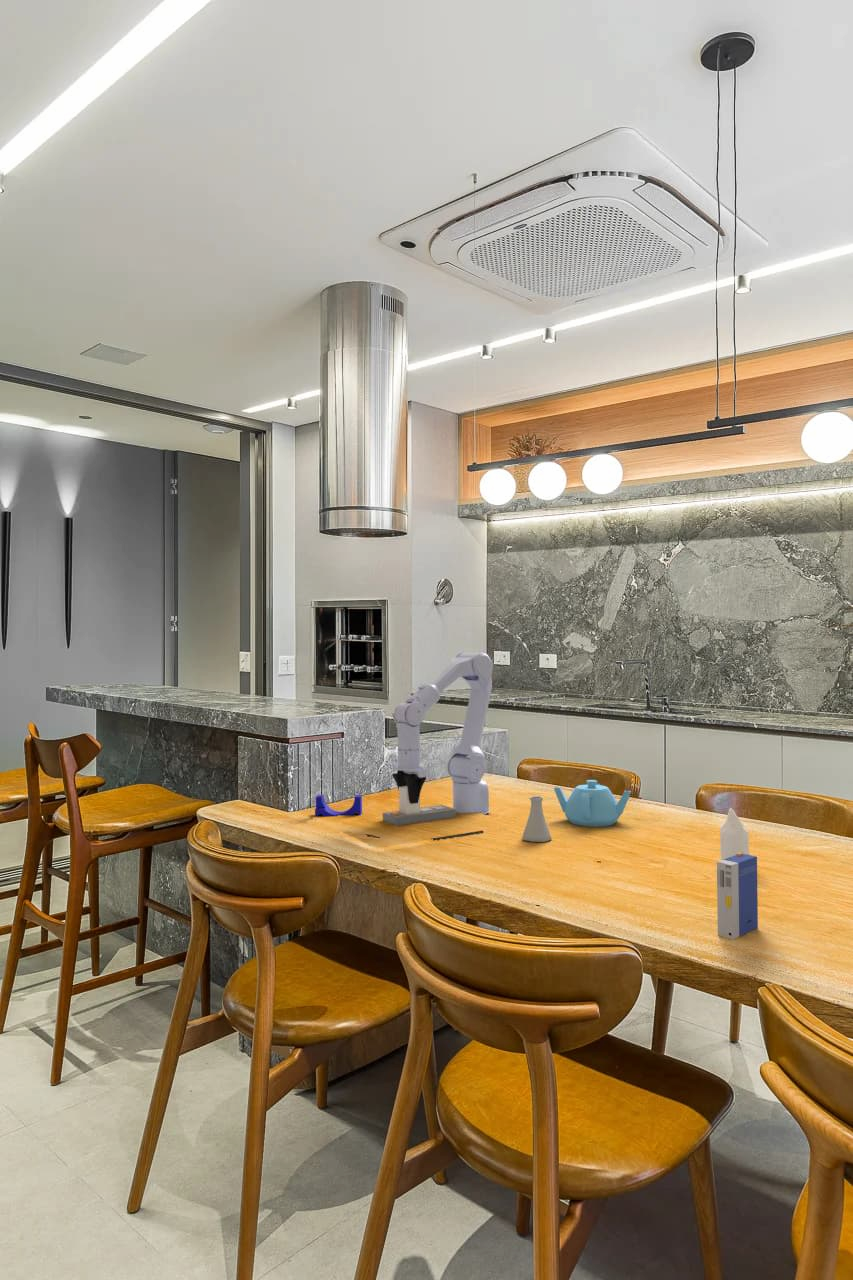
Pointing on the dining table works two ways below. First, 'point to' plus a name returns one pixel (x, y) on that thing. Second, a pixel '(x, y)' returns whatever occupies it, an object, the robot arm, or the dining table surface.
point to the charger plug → (407, 803)
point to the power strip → (420, 815)
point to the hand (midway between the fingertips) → (409, 801)
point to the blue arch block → (326, 811)
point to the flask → (536, 823)
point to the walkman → (737, 895)
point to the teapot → (592, 805)
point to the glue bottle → (733, 837)
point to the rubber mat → (459, 835)
